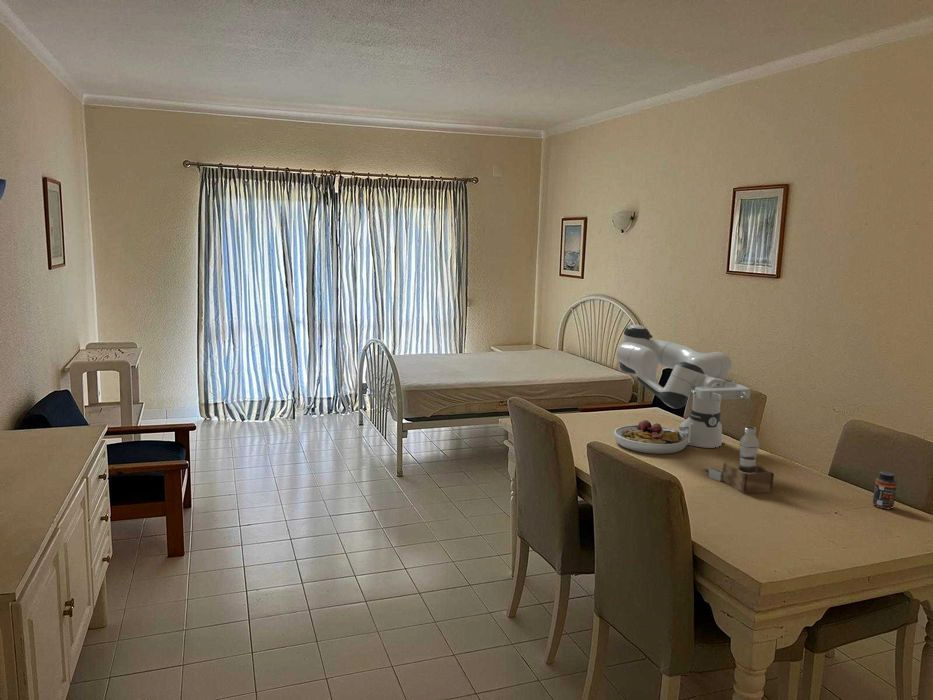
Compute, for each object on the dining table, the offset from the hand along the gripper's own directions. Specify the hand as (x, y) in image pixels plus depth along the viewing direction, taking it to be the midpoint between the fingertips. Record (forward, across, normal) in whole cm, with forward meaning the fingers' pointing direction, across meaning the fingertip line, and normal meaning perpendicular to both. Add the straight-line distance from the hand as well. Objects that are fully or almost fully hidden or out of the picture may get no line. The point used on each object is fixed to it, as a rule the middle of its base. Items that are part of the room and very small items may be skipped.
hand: (734, 397), depth 252 cm
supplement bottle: (+36, +34, +30) cm, 58 cm away
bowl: (-40, -11, +30) cm, 51 cm away
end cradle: (+12, 0, +29) cm, 32 cm away
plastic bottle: (+12, -1, +28) cm, 31 cm away
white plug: (+3, -6, +29) cm, 30 cm away
